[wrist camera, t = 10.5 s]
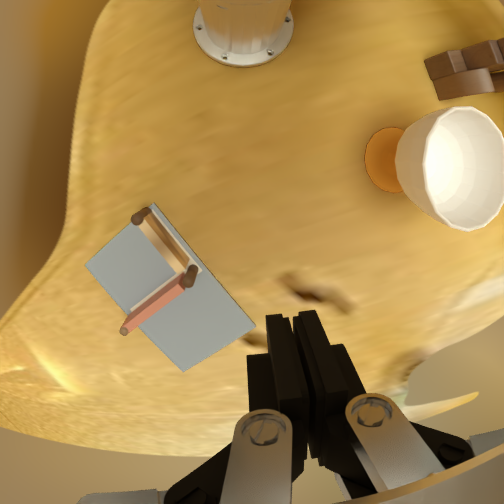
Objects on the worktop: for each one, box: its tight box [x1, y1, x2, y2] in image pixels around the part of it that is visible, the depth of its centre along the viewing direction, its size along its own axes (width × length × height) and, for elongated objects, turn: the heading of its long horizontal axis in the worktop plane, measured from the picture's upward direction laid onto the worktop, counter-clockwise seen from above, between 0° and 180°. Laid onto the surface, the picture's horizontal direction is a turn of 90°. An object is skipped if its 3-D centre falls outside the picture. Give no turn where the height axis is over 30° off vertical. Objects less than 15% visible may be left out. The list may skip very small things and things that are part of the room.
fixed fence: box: [131, 207, 198, 288], centre depth 39 cm, size 11×1×5 cm, turn 37°
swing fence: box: [120, 273, 186, 336], centre depth 41 cm, size 11×1×4 cm, turn 127°
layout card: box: [85, 203, 256, 372], centre depth 44 cm, size 22×14×1 cm, turn 37°
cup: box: [364, 106, 504, 232], centre depth 32 cm, size 12×12×17 cm
